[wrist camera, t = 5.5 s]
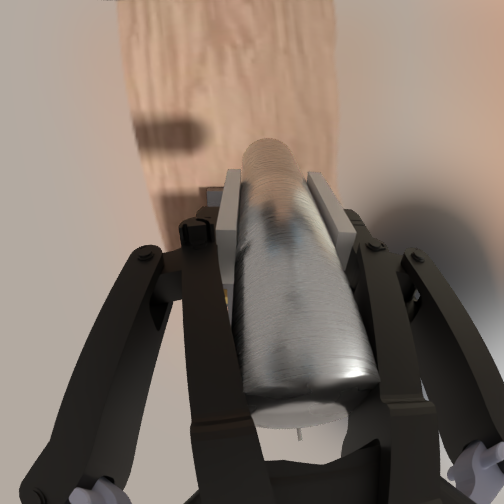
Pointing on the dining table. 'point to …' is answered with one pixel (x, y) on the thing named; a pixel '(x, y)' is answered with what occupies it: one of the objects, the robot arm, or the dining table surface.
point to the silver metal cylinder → (293, 302)
